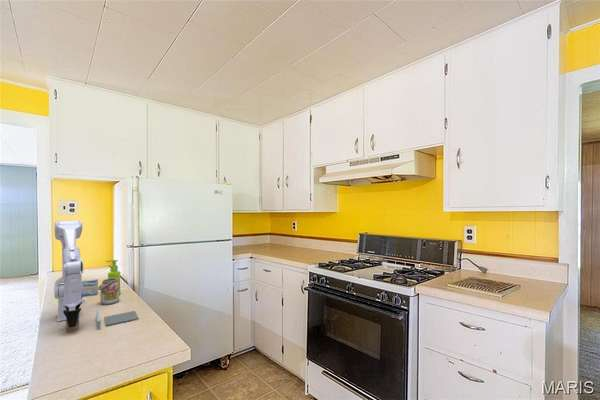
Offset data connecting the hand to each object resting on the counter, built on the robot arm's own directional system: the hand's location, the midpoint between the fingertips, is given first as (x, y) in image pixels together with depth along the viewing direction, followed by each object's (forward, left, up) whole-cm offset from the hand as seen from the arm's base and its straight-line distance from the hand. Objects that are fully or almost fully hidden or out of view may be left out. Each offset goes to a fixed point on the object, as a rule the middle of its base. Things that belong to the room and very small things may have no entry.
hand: (72, 323), depth 119 cm
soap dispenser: (-46, +17, -2) cm, 49 cm away
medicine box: (-56, +6, -2) cm, 56 cm away
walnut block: (0, 0, -2) cm, 2 cm away
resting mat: (0, +17, -2) cm, 17 cm away
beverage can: (-31, +14, -2) cm, 34 cm away
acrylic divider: (0, +8, -2) cm, 9 cm away
